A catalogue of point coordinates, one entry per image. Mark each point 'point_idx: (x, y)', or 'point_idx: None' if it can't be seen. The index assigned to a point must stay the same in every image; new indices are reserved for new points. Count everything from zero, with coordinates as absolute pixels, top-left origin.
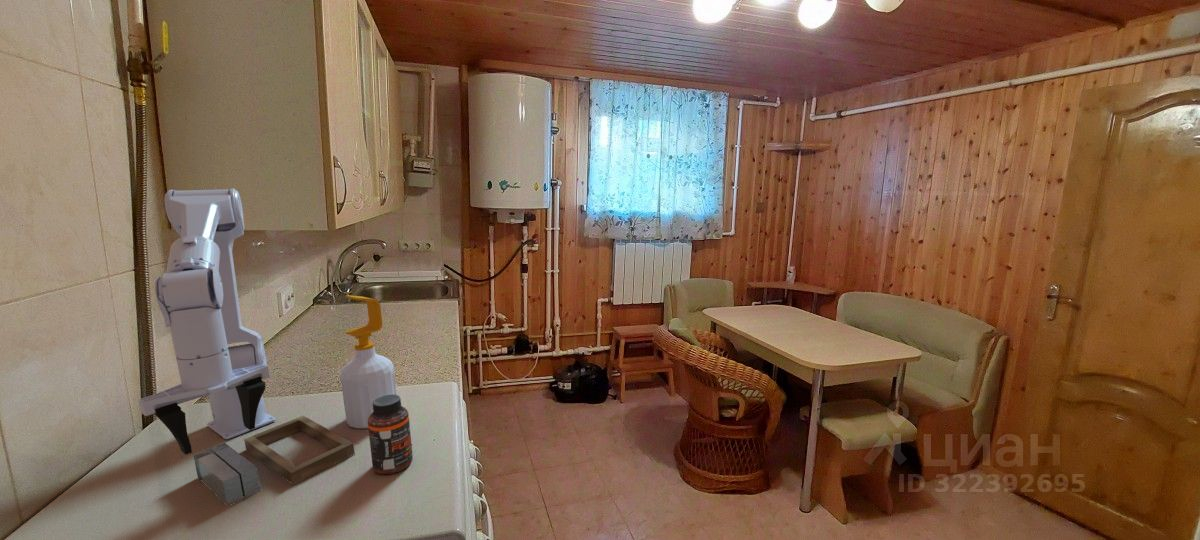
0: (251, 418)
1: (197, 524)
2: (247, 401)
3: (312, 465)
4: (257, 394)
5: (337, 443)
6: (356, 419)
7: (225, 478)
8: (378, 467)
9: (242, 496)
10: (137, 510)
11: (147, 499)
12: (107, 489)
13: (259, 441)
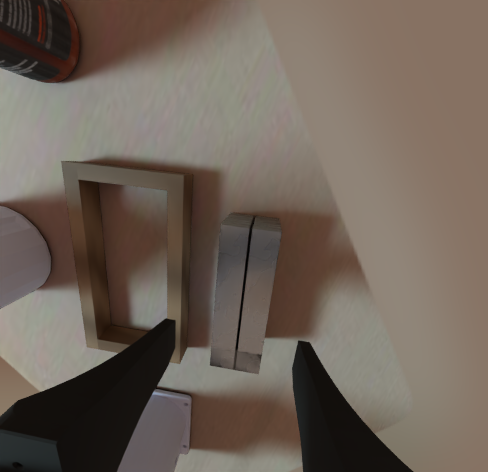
0: (153, 337)
1: (326, 216)
2: (118, 394)
3: (147, 170)
4: (65, 394)
5: (84, 200)
6: (23, 244)
7: (272, 240)
8: (64, 13)
9: (256, 216)
10: (341, 334)
11: (320, 348)
12: None
13: None
